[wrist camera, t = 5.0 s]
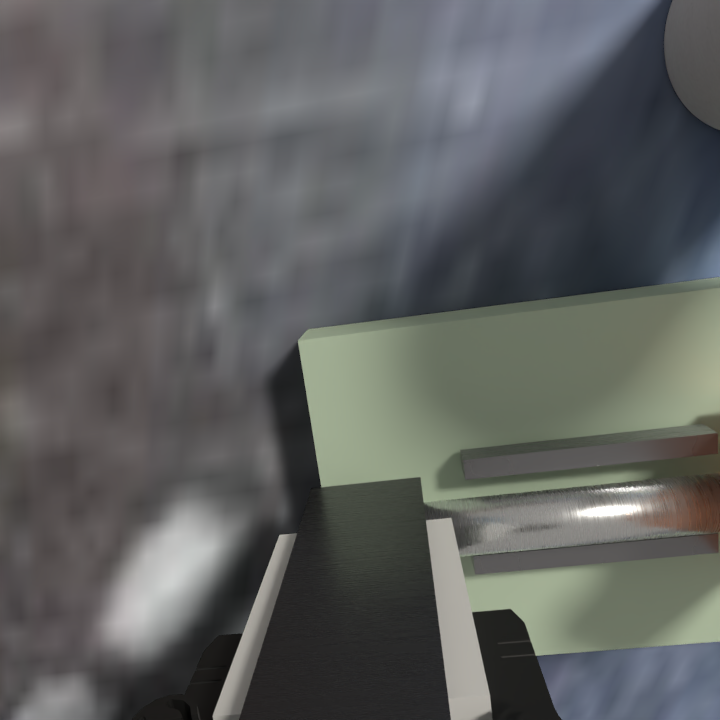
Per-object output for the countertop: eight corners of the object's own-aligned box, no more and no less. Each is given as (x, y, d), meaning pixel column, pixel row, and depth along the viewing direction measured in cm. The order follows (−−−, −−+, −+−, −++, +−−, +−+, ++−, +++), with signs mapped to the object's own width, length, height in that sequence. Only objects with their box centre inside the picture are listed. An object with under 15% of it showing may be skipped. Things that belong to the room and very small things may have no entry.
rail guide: (471, 560, 20) (475, 574, 19) (459, 450, 19) (463, 459, 18) (703, 538, 20) (718, 552, 19) (702, 423, 19) (718, 432, 18)
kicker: (333, 596, 20) (267, 1022, 9) (310, 450, 19) (202, 739, 8) (788, 556, 19) (1331, 991, 8) (792, 398, 18) (1430, 653, 7)
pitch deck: (354, 628, 24) (350, 670, 22) (307, 329, 21) (297, 340, 19) (930, 579, 22) (993, 619, 20) (957, 246, 20) (1034, 247, 17)
